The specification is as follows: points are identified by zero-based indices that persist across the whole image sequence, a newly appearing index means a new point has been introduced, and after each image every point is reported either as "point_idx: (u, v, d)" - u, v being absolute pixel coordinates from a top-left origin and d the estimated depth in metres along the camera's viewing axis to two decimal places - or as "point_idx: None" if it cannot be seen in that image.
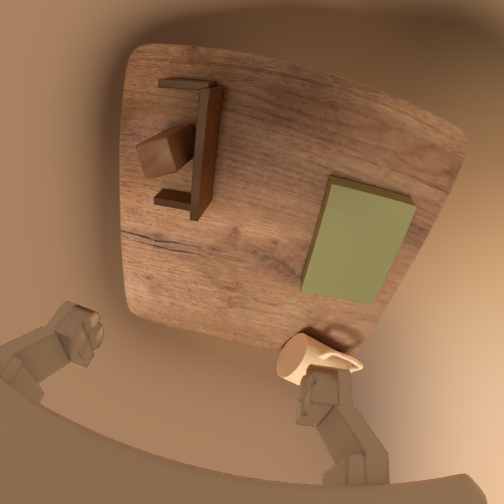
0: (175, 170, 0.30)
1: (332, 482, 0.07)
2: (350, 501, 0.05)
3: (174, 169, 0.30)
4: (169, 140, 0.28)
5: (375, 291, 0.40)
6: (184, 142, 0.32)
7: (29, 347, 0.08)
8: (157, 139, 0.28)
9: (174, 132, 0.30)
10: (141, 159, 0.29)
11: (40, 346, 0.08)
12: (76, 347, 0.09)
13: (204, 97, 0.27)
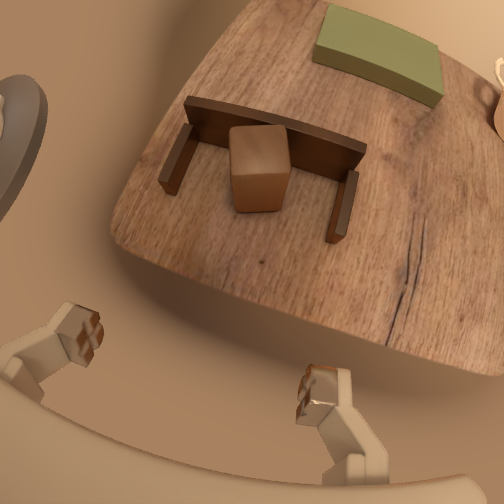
0: (282, 126, 0.20)
1: (332, 481, 0.07)
2: (350, 501, 0.05)
3: (281, 126, 0.20)
4: (236, 127, 0.20)
5: (422, 40, 0.29)
6: None
7: (30, 347, 0.08)
8: (230, 140, 0.20)
9: None
10: (255, 169, 0.19)
11: (40, 346, 0.08)
12: (76, 348, 0.09)
13: (196, 101, 0.22)
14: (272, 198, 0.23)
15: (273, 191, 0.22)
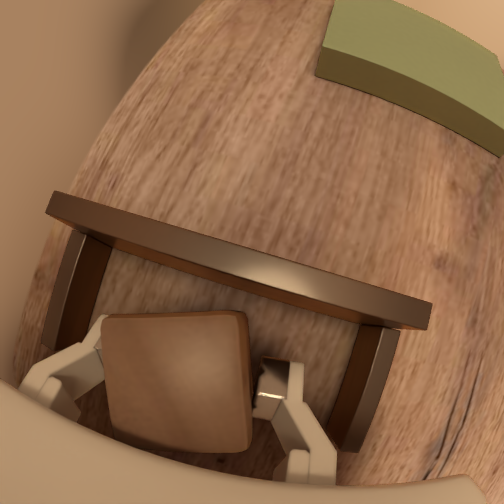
0: (232, 320, 0.07)
1: (278, 477, 0.07)
2: (350, 501, 0.05)
3: (226, 322, 0.07)
4: (117, 314, 0.08)
5: (477, 45, 0.16)
6: None
7: (67, 366, 0.08)
8: (103, 356, 0.07)
9: None
10: (162, 443, 0.07)
11: (78, 364, 0.08)
12: None
13: (64, 205, 0.10)
14: None
15: None
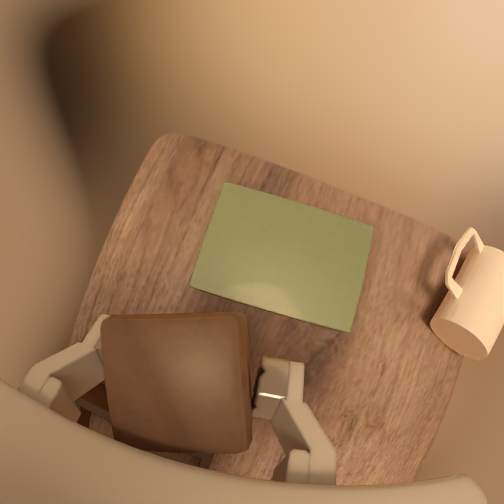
0: (231, 321, 0.07)
1: (278, 477, 0.07)
2: (350, 501, 0.05)
3: (226, 323, 0.07)
4: (117, 315, 0.08)
5: (351, 224, 0.30)
6: None
7: (67, 366, 0.08)
8: (103, 357, 0.07)
9: None
10: (162, 444, 0.07)
11: (78, 364, 0.08)
12: None
13: None
14: None
15: None
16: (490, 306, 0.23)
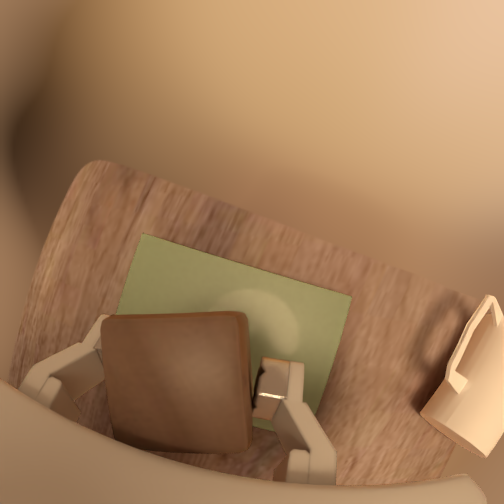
0: (232, 320, 0.07)
1: (278, 478, 0.07)
2: (350, 501, 0.05)
3: (226, 323, 0.07)
4: (117, 315, 0.08)
5: (317, 295, 0.21)
6: None
7: (67, 366, 0.08)
8: (103, 357, 0.07)
9: None
10: (162, 444, 0.07)
11: (78, 364, 0.08)
12: None
13: None
14: None
15: None
16: (500, 405, 0.14)
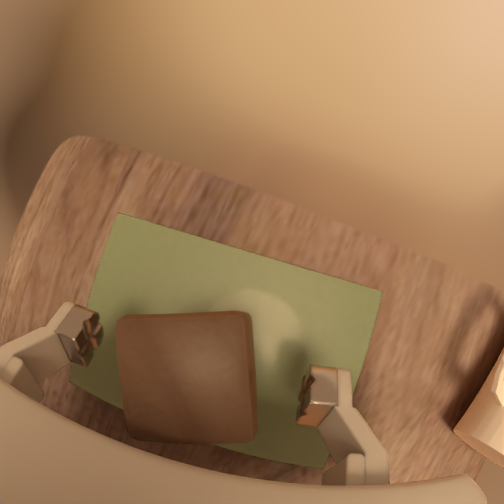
0: (239, 319, 0.08)
1: (332, 481, 0.07)
2: (350, 501, 0.05)
3: (234, 321, 0.08)
4: (131, 315, 0.08)
5: (340, 290, 0.16)
6: None
7: (30, 347, 0.08)
8: (118, 354, 0.08)
9: None
10: (174, 436, 0.07)
11: (40, 346, 0.08)
12: (76, 348, 0.09)
13: None
14: None
15: None
16: None
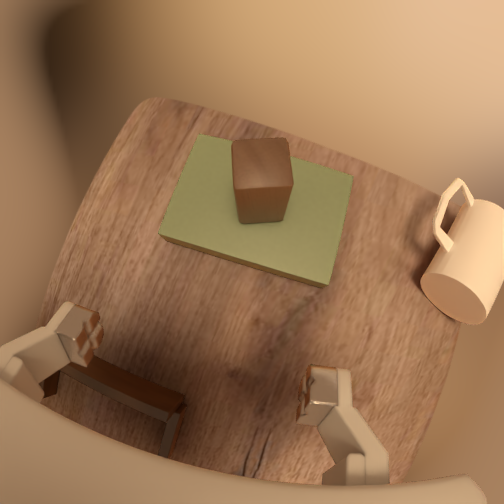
0: (284, 139, 0.20)
1: (332, 481, 0.07)
2: (350, 501, 0.05)
3: (282, 139, 0.20)
4: (239, 140, 0.21)
5: (328, 173, 0.28)
6: None
7: (29, 347, 0.08)
8: (232, 154, 0.20)
9: None
10: (258, 183, 0.20)
11: (40, 346, 0.08)
12: (76, 348, 0.09)
13: None
14: (275, 210, 0.24)
15: (276, 203, 0.22)
16: (485, 258, 0.21)
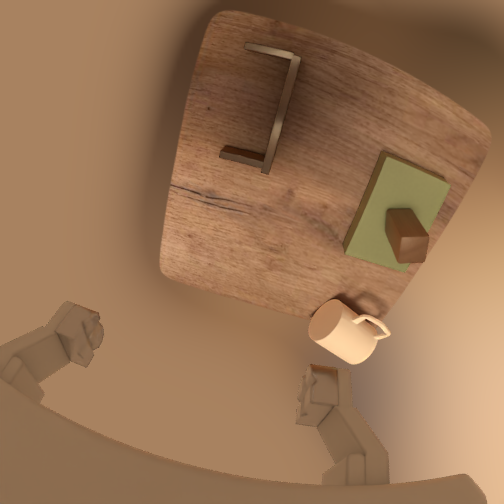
0: (423, 261, 0.34)
1: (332, 481, 0.07)
2: (350, 501, 0.05)
3: (423, 260, 0.34)
4: None
5: None
6: None
7: (29, 347, 0.08)
8: (421, 236, 0.33)
9: (423, 227, 0.34)
10: (402, 248, 0.34)
11: (40, 346, 0.08)
12: (76, 347, 0.09)
13: (295, 63, 0.29)
14: (390, 239, 0.38)
15: (392, 244, 0.37)
16: (344, 342, 0.48)
